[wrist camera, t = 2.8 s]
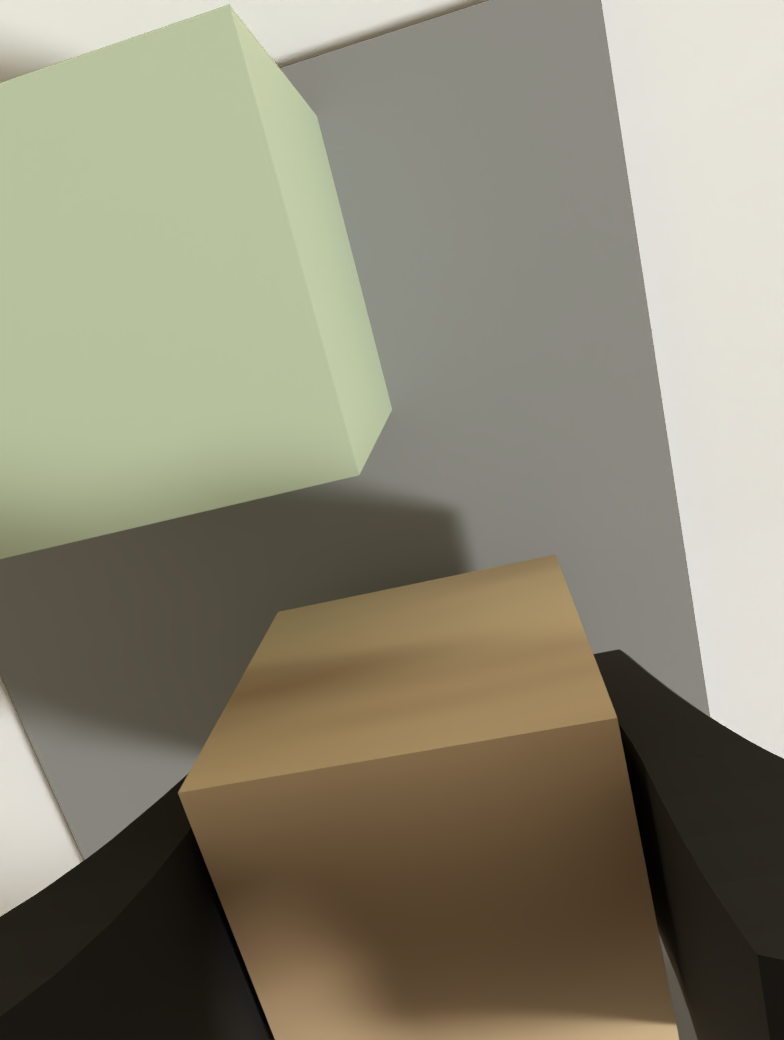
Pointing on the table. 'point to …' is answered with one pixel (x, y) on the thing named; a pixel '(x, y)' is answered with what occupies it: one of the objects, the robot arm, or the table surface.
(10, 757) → the table surface
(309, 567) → the mat
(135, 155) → the sage block
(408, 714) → the maple block
